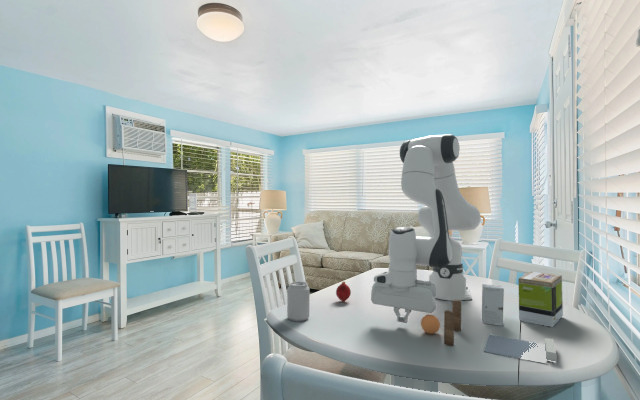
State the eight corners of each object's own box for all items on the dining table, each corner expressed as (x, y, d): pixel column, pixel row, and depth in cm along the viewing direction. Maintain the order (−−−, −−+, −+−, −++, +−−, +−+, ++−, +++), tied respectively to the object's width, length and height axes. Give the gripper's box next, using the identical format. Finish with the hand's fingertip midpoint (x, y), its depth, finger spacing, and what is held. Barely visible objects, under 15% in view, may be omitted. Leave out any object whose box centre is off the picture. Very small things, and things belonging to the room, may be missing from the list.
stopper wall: (544, 347, 96) (544, 338, 96) (553, 348, 95) (553, 339, 95) (546, 361, 87) (546, 351, 87) (556, 363, 86) (556, 353, 86)
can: (312, 316, 121) (312, 281, 121) (304, 323, 114) (304, 286, 114) (292, 313, 123) (292, 279, 123) (283, 320, 116) (283, 284, 116)
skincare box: (483, 324, 114) (483, 286, 114) (481, 319, 118) (481, 283, 119) (504, 326, 112) (504, 288, 112) (501, 321, 117) (501, 285, 117)
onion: (349, 304, 136) (349, 283, 136) (335, 303, 137) (335, 282, 137) (351, 300, 141) (351, 280, 141) (337, 299, 142) (337, 279, 142)
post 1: (445, 341, 100) (445, 309, 100) (454, 343, 98) (454, 311, 98) (443, 344, 97) (443, 312, 97) (453, 346, 96) (453, 313, 96)
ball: (446, 324, 106) (434, 335, 107) (433, 309, 108) (421, 320, 110) (440, 327, 101) (427, 339, 103) (426, 312, 104) (414, 323, 106)
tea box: (530, 311, 128) (530, 270, 128) (563, 317, 121) (563, 275, 121) (517, 320, 118) (518, 276, 118) (552, 328, 111) (553, 281, 111)
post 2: (453, 327, 110) (453, 299, 110) (461, 329, 109) (461, 300, 109) (451, 330, 108) (451, 301, 108) (460, 332, 107) (460, 302, 107)
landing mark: (488, 334, 105) (488, 334, 105) (544, 344, 98) (544, 344, 98) (484, 351, 93) (484, 351, 93) (547, 364, 86) (547, 363, 86)
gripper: (438, 280, 109) (438, 324, 108) (376, 273, 119) (376, 313, 119) (433, 284, 103) (433, 331, 103) (369, 276, 114) (369, 319, 114)
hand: (402, 321), depth 111 cm, fingers closed
